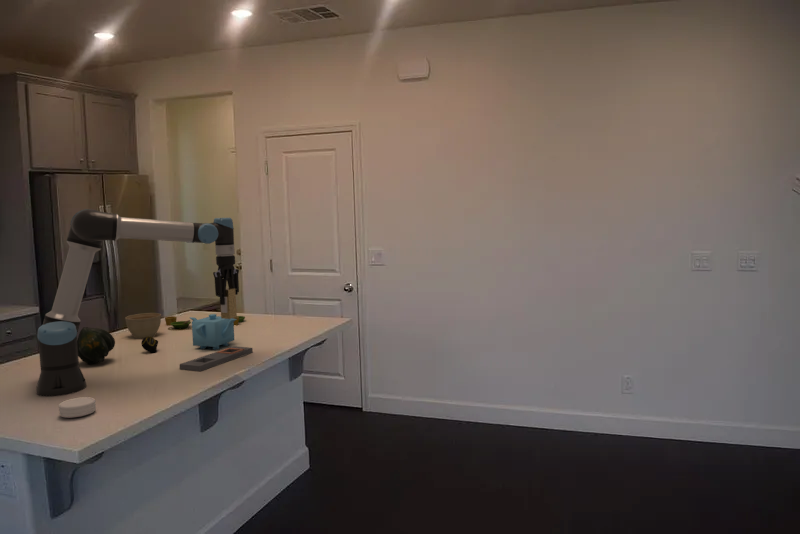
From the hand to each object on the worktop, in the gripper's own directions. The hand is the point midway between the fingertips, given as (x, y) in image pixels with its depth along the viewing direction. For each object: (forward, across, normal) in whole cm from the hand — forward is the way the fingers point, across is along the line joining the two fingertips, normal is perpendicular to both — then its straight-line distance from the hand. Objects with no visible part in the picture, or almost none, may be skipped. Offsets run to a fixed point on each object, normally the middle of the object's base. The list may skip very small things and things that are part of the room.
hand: (228, 311), depth 252 cm
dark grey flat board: (+19, -8, 0) cm, 20 cm away
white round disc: (+19, -74, -2) cm, 76 cm away
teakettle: (+19, +13, +19) cm, 30 cm away
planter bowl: (+19, +18, +67) cm, 72 cm away
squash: (+19, -27, +46) cm, 57 cm away
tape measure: (+19, -5, +39) cm, 44 cm away
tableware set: (+20, +51, +60) cm, 81 cm away
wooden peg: (+3, 0, 0) cm, 3 cm away
